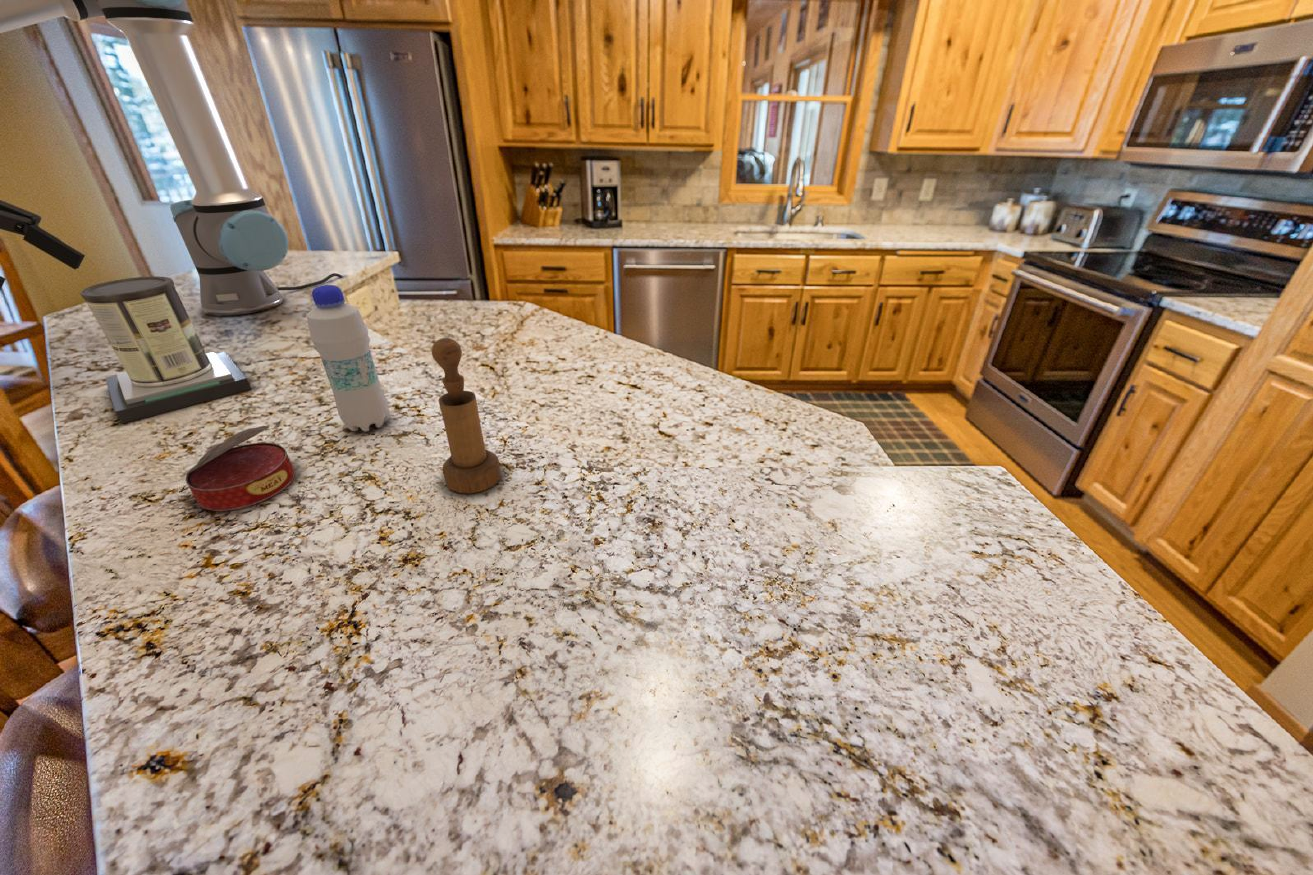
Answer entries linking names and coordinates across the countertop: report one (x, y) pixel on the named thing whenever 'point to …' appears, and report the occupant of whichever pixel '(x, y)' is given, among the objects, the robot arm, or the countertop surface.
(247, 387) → the scale
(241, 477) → the canned food
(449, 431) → the mortar and pestle
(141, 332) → the coffee can
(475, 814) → the countertop surface
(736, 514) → the countertop surface
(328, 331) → the bottle
